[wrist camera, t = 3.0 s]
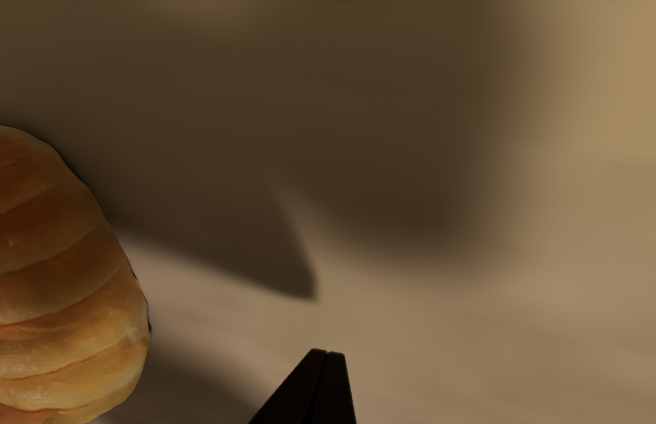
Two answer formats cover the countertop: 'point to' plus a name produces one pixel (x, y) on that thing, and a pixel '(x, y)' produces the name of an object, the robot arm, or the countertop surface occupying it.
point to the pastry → (62, 294)
